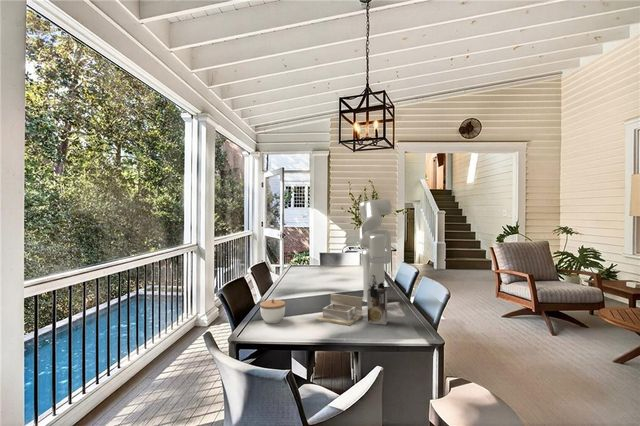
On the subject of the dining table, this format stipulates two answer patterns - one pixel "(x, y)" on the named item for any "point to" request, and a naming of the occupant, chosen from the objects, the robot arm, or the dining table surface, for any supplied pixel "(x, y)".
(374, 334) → the dining table surface
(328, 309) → the open wooden box
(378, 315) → the coffee box
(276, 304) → the lidded bowl
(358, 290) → the dining table surface
